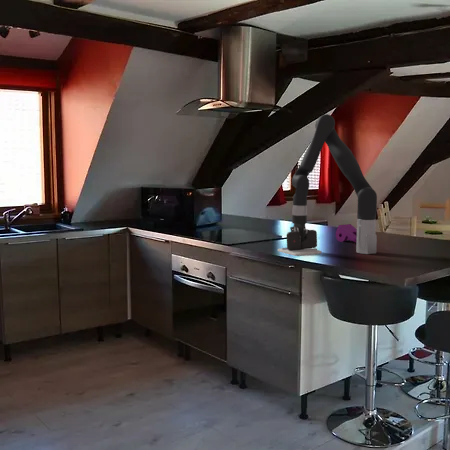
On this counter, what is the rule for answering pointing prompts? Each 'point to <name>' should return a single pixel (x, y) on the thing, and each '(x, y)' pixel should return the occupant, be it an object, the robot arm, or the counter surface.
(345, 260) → the counter surface
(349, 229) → the mounting bracket
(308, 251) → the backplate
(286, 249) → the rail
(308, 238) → the leaning round-cornered charcoal block
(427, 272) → the counter surface
